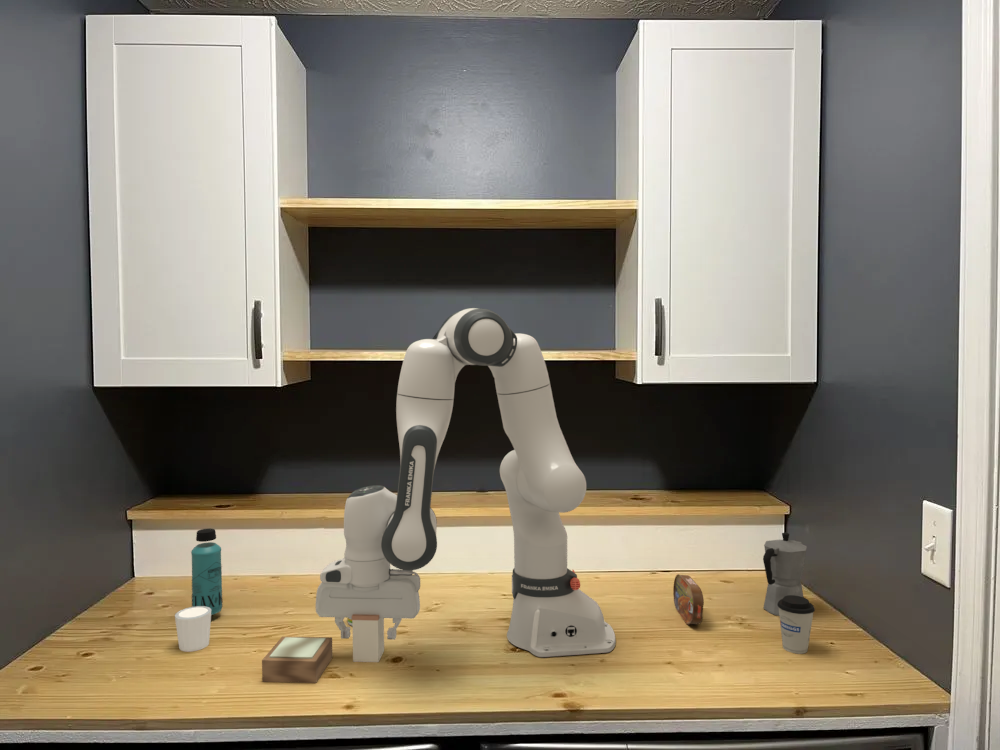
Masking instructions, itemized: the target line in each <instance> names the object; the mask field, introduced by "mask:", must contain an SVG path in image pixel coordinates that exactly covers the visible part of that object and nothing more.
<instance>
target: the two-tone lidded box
mask: <svg viewBox="0 0 1000 750" xmlns="http://www.w3.org/2000/svg"><path fill="white" fill-rule="evenodd" d="M351 626H352V662H353V663H355V662H356V663H357V662H358V663H359V662H360V663H379V662H380V660H381V658H382V656H383V654H384V652H385V618H379V615H359V614H353V615H352V625H351Z"/></svg>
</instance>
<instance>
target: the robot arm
mask: <svg viewBox="0 0 1000 750" xmlns="http://www.w3.org/2000/svg"><path fill="white" fill-rule="evenodd" d="M469 365H470V366H483V367H484V366H485V367H488V368H489V370H490V371H491V374H492V377H493V378H494V384H495V390H496V391H495V392H496V395H497V400H498V401H497V402H498V407H499V411H500V416H501V422H502V428H503V430H504V433H505V434H506V436H507V437H508V439H509V441H510V443H511V445H512V447H513V450H511V451H509V452H508V453H507V454H506V455H505V456H504V457H503V459H502V460H501V463H500V466H499V475H500V480H501V481H502V484H503V487H504V489H505V494H506V498H507V504H508V508H509V513H510V517H511V524H512V530H513V531H512V532H513V545H514V546H513V547H514V548H513V552H514V553H513V555H514V557H513V559H514V560H513V561H514V562H513V563H514V566H513V567H514V568H513V569H512V574H511V595H512V599H513V601H512V609H511V616H510V621H509V626H508V630H507V632H506V638H507V640H508V641H509V643H511V644H512V645H514V646H515V647H518V648H520V649H522V650H526V651H528V652H530V653H531V654H532V655H533V656H536V657H538V658H549V657H550V658H551V657H562V656H563V657H564V656H565V657H566V656H576V655H577V656H578V655H588V654H589V655H590V654H601V653H602V654H605V653H610V652H611V651H612V650H614V649H615V646H616V634H615V630H614V629H613V627H612V626H611V624H609V623H608V622H606V621H605V619H604V618H605V617H604V613H603V611H602V608H601V607H600V605H599V604H598V602H597V601H595V599H593V598H592V597H590V595H588V594H586V593H585V592H583V591H582V590H581V589H580V588H581V580H580V579H579V578H578V574H576V572H575V570H574V569H569V568H568V534H567V530H566V527H565V526H564V523H563V521H562V518H561V515H560V513H562V514H563V513H564V514H565V513H569V512H572V511H574V510H575V509H577V508H578V507H579V506H580V505H581V503H582V502H583V501H584V499H585V497H586V492H587V480H586V476H585V475H584V473H583V472H582V470H581V469H580V468H579V466H578V465H577V464H576V462H575V460H574V457H573V456H572V454H571V451H570V448H569V446H568V444H567V441H566V439H565V436H564V434H563V431H562V429H561V427H560V423H559V420H558V417H557V412H556V407H555V402H554V397H553V391H552V387H551V381H550V377H549V372H548V368H547V364H546V361H545V359H544V356H543V352H542V350H541V347H540V345H539V342H538V341H537V340H536V338H534V337H533V336H531V335H529V334H526V333H515V332H514V331H513V329H511V327H510V326H509V325H508V324H507V322H506V321H505V320H504V319H503V317H502V316H500V315H499V314H498V313H496V312H494V311H493V310H490V309H488V308H477V307H476V308H475V307H472V308H464V309H462V310H460V311H456V312H454V313H451V315H449V316H448V317H447V318H446V319H445V320H444V321H443V323H442V324H441V325H440V327H439V329H438V330H437V332H436V333H435V334H434V336H432V338H424V339H420V340H419V339H418V340H416V341H414V342H412V343H411V344H409V346H408V348H407V349H406V351H405V354H404V357H403V360H402V365H401V369H400V373H399V379H398V383H397V384H398V385H397V392H396V404H395V405H396V407H395V412H396V413H395V414H396V427H397V436H398V443H399V456H400V457H399V458H400V460H399V461H400V466H399V474H398V475H399V476H398V484H397V486H398V487H397V494H396V493H394V492H392V491H390V490H389V489H387V488H386V487H385V486H383V485H376V484H375V485H369V486H368V485H367V486H364V487H359V488H358V489H355V490H354V491H353V492H351V493H350V494H349V495H348V497H347V498H346V499H345V500H346V501H345V505H344V512H343V513H344V514H343V535H344V539H345V543H346V544H345V550H344V555H343V556H344V558H339V559H337V560H334V561H331V562H329V563H328V564H327V565H326V566H324V568H323V569H322V571H321V572H320V575H319V578H320V579H319V580H320V584H319V585H318V587H317V589H316V595H315V612H316V614H317V615H318V616H319V618H334V623H335V626H337V628H338V630H339V631H340V638H341V639H342V640H343V639H346V640H347V639H349V638H350V637H351V626H347V625H346V623H345V622H344V619H345V618H347V617H350V618H352V615H353V614H359V615H379V618H384V619H392V623H393V627H389V628H388V629H387V632H386V635H387V640H396V639H397V629H398V627H399V625H401V621H402V620H403V619H414V618H416V617H417V616H418V614H419V613H420V609H421V601H420V594H419V593H420V592H419V591H420V589H421V577H420V575H419V574H418V573H417V572H415V570H419V569H422V568H424V567H426V566H427V565H428V564H430V562H431V561H433V558H434V557H435V555H436V552H437V548H438V539H437V538H438V537H437V530H438V529H437V523H438V521H437V515H436V514H435V510H433V509H432V507H431V505H432V495H433V493H432V492H433V482H434V475H435V474H434V473H435V468H436V464H437V460H438V457H439V453H440V451H441V447H442V445H443V442H444V440H445V438H446V435H447V432H448V428H449V425H450V422H451V418H452V415H453V414H452V413H453V407H454V399H455V388H456V387H455V386H456V382H457V381H456V380H457V377H458V375H459V373H460V372H461V370H462V369H463V368H464V367H465V366H469ZM391 566H393V567H394V568H391ZM395 568H396V569H395Z"/></svg>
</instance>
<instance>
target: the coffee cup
mask: <svg viewBox="0 0 1000 750" xmlns="http://www.w3.org/2000/svg"><path fill="white" fill-rule="evenodd" d="M777 606H778V607H779V616H778V617H779V623H780V633H781V634H780V635H781V640H782V641H781V642H782V648H783V650H785V651H786V652H789V653H793V654H798V655H799V654H802V655H803V654H806V653H807V652H808V650H809V643H810V638H811V631H812V623H813V618H814V612H815V611H816V609H815V606H814V605H813V604H812V603H811V602H810V601H809V599H808V598H806V597H804V596H803V597H800V596H795V595H788V596H785V597H784V598H783V599H781V600H779V602H778V603H777Z"/></svg>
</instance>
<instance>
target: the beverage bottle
mask: <svg viewBox="0 0 1000 750" xmlns="http://www.w3.org/2000/svg"><path fill="white" fill-rule="evenodd" d="M216 539H217V535H216V529H215V528H202V529H199V530H197V531H196V537H195V541H196V542H200V543H198V544H197V545H195V547H193V549H192V550H191V551H190V553H191V596H190V597H191V607H195V606H206V607H209V608H211V616H212V615H216V614H217V613H220V612H221V611H222V609H223V607H224V606H223V601H224V598H223V587H222V585H223V579H222V574H223V573H222V572H223V570H222V566H223V564H222V547H221V546H220V545H219V544H218V543H216V542H214V540H216ZM212 541H213V542H212ZM201 542H202V543H201Z"/></svg>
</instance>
